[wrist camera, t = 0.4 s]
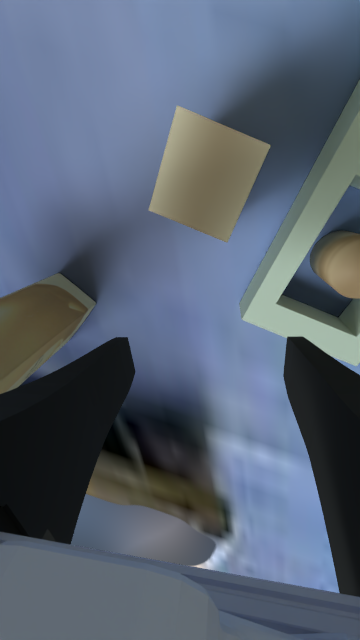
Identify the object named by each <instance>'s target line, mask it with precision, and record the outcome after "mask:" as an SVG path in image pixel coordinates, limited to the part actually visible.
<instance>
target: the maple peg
mask: <svg viewBox="0 0 360 640" xmlns="http://www.w3.org/2000/svg"><path fill="white" fill-rule="evenodd" d="M270 146H271V145H269V144H267V143H265V142H262V141H260V140H257V139H255V138H253V137H250V136H248V135H246V134H243V133H241V132H239V131H236V130H234V129H232V128H229V127H227V126H224V125H222V124H220V123H217V122H215V121H213V120H210V119H208V118H206V117H203V116H201V115H199V114H196V113H194V112H191V111H189V110H187V109H184V108H182V107H180V106H177V108H176V111H175V115H174V119H173V122H172V126H171V130H170V133H169V137H168V141H167V144H166V148H165V152H164V155H163V159H162V163H161V166H160V170H159V174H158V177H157V181H156V185H155V188H154V192H153V196H152V199H151V203H150V207H149V211H152V212H154V213H157V214H159V215H161V216H164V217H166V218H169V219H171V220H174V221H176V222H178V223H181V224H183V225H186V226H188V227H191V228H193V229H195V230H198V231H200V232H203V233H205V234H208V235H210V236H212V237H215V238H217V239H220V240H222V241H224V242H228V240H229V238H230V236H231V233H232V231H233V229H234V227H235V225H236V222H237V220H238V218H239V216H240V213H241V211H242V209H243V207H244V204H245V202H246V200H247V198H248V195H249V193H250V191H251V189H252V187H253V184H254V182H255V180H256V178H257V175H258V173H259V171H260V169H261V166H262V164H263V162H264V160H265V157H266V155H267V153H268V151H269V149H270Z"/></svg>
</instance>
